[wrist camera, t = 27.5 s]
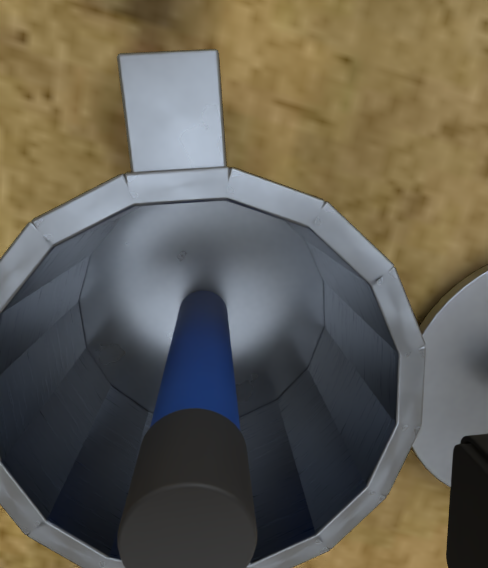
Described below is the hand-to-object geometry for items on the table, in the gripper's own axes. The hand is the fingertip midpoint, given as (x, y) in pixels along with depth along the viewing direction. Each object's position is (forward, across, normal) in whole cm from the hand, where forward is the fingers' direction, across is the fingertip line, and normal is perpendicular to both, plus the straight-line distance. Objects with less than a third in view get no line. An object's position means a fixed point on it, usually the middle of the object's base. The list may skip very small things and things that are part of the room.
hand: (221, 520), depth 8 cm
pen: (+12, +1, -1) cm, 12 cm away
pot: (+12, +1, 0) cm, 12 cm away
